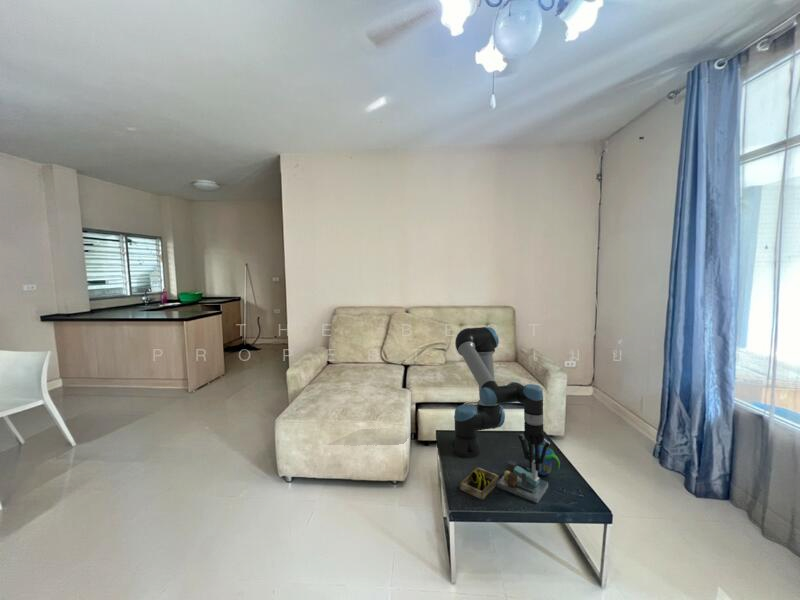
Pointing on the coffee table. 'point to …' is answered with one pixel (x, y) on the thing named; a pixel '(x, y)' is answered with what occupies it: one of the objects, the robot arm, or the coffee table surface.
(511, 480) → the brown rectangular block
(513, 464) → the dark grey block
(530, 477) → the block
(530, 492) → the panel
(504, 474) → the ochre button
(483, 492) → the wooden tray
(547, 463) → the snack cup
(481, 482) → the opera glasses
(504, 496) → the coffee table surface
